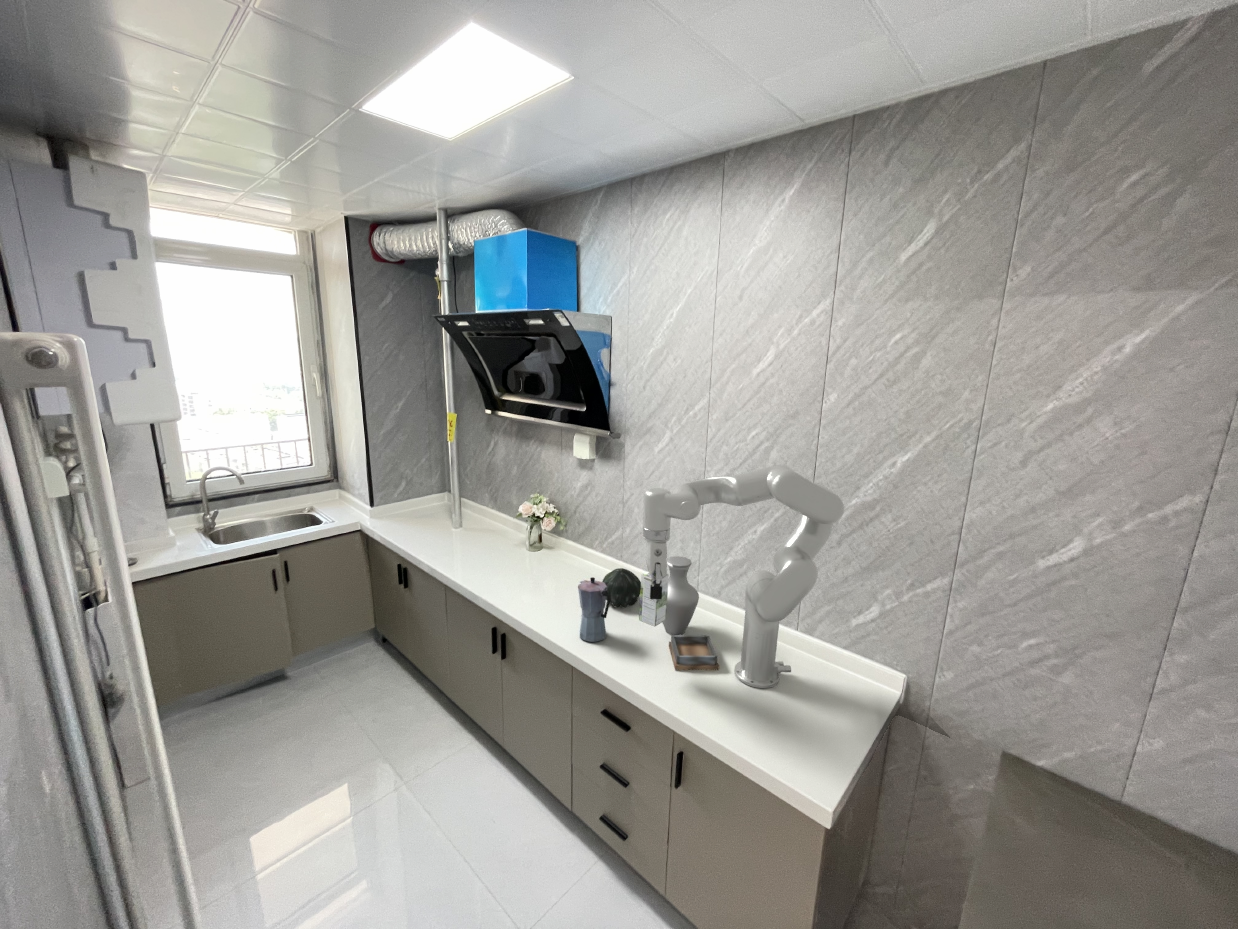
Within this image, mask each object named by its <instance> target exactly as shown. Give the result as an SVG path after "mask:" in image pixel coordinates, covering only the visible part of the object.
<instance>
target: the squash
mask: <svg viewBox="0 0 1238 929" xmlns="http://www.w3.org/2000/svg"><path fill="white" fill-rule="evenodd" d="M601 582H604V583H605V584H606V586H607V593H608V595H609V596H610V604H612V605H613V607H614V608H619V607H621V608H627V607H628V606H633V605H635V604H636V603H637V602H638V601H639V599H640V591H641V579H640V578H639V577H638V576H637V575H636V574H635V573H634V572H633V571H630V570H629V569H626V568H622V567H620V568H615V569H613V570H612V571H610V572H608V573H607V574H606V575H604V577H603V579H602V581H601ZM606 601H607V597H606Z"/></svg>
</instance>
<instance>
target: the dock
mask: <svg viewBox="0 0 1238 929" xmlns="http://www.w3.org/2000/svg"><path fill="white" fill-rule="evenodd" d="M668 648H669V652H670V656H671V659H672V664H673V667H674V671H720V665H719V662H718V654H717V651H716V649H715V647H714V644H713V642H712V640H711V638H710V636H709V635H707V634H705V635H702V634H700V635H699V634H697V635H695V634H693V635H692V634H691V635H689V634H685V635H684V634H682V635H671V636H670V641H668Z"/></svg>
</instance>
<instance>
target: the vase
mask: <svg viewBox="0 0 1238 929" xmlns="http://www.w3.org/2000/svg"><path fill="white" fill-rule="evenodd" d="M692 564H693V562H692V560H691V559H690V558H688V557H686V556H685V557H684V556H679V555H676V556H674V555H673V556H670V557H667V568H668V570H669V579H668V596H667V611H666V620H665V621H663V622H662V625H663V628H664V630H665V632H666V633H667V634H669V635H671V636H673V635H684V633H686V630H687V628H688V627H689V625H690V623H691V621H692V618H693V616H694V614H695V612H696V608H697V607H698V603H699V599H700V595H699V591H698V590H697V589H696V588H695V587H694V586H693V585H691V584H690V583H689V581H688V578H687V575H688V572H689V569H690V567H691V566H692Z"/></svg>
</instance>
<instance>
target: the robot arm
mask: <svg viewBox="0 0 1238 929" xmlns="http://www.w3.org/2000/svg"><path fill="white" fill-rule="evenodd" d="M772 499H775V500H776V501H778V502H779V503H781V504H782V505H784V506H786V507H787V508H789V509H791V510H792V511H795V512H797V513H799V514H800V515H801V517H800V520H799V523H797V526H796V527H795V528H794V530H793V531H792V532H791V534H789V535H788V536H787V538H786V539H785V540H784V541H783V542H782V544H781V545H780V546H779V547H778V548H777V550H776V551H775V552H774V554H773V555H772V561H771V562H772V567H773V568H774V570H775V572H776V573H777V574H774V573H773V572H770V570H769V571H768V570H764V569H760V570H756V571H754V572H753V573H751V575H749V577H747V578H748V579H747V580H746V582H745V590H744V591H745V592H744V595H745V596H744V597H745V599H744V601H745V608H744V620H743V621H744V622H743V631H742V632H743V633H742V635H743V636H742V641H741V642H742V644H741V645H742V646H741V654H740V656H741V657H740V661H738V662H736V664H735V665H734V674H735V677H736V678H737V679H738V680H739V681H740V682H741V683H743V684H745V685H748V686H750V687H753V688H758V689H768V688H772V687H774V686H776V685H777V684H778V683H779V680H780V674H781V673H792V667H791V666H792V665H790V664H789V665H787V664H786V665H785V664H784V661H780V660H779V661H776V655H777V646H778V638H779V629H780V621H782V620H785V618H787V617H789V615H790V614H791V613H792V612H793V611H794V610H795V609H796V608H797V607H798V606H799V605H800V603H801V602H802V601H803V600H804V599H805V598H806V597H807V595H808V594H809V593H810V592H811V591H812V590H813V588H814V587H815V585H816V582H817V579H818V567H817V565H816V563H815V562H814V560H815V558H816V556H817V555H818V554H819V553H820V551H821V550H822V549H823V547H824V546H825V545H826V543H827V542H828V540H829V539H830V536H831V534H832V531H833V524H834V523H835V524H836V523H837V522H838V521H839V520H840V519H841V518H842V517H843V514H844V512H845V504H844V502H843V499H841V497H840V496H839V495H838V494H837V493H835V492H834V491H832V490H831V489H829V488H828V486H825V485H823V484H822V483H819V482H812V481H811V480H809V479H807V478H805V477H804V476H803V475H800V474H799V473H797V472H796V471H795V470H794V469H792V468H791V467H790V466H787V465H785V464H776V465H771V466H767V467H763V468H759V469H755V470H751V471H747V472H742V473H739V474H733V475H726V476H724V475H723V476H718V477H707V478H702V479H698V480H694V481H689V482H686V483H682V484H679V485H678V486H676V487H675V488H674V489H673V490H672V492H671V491H670V490H668V489H665V488H660V487H655V488H654V487H653V488H648V489H647V490H645V492H644V496H643V523H642V539H643V540H644V541H646V546H645V548H646V549H645V551H646V552H645V554H646V555H645V558H646V560H645V561H646V568H647V572H649V575H650V576H651V581H652V585H650V599H662V575H663V576H666V575H667V574H668V563H667V558H668V546H667V545H668V544H667V542H668V541H670V539H671V519H676V520H682V521H691V520H693V519H696V517H698V516H699V515H700V513H701V508H702V507H701V506H704V505H707V504H708V505H709V504H714V503H715V504H718V503H719V504H721V503H722V504H727V505H729V506H734V507H742V506H747V505H751V504H757V503H759V502H764V501H767V500H772ZM653 573H656V574H653ZM654 577H656V579H655V580H654Z"/></svg>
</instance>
